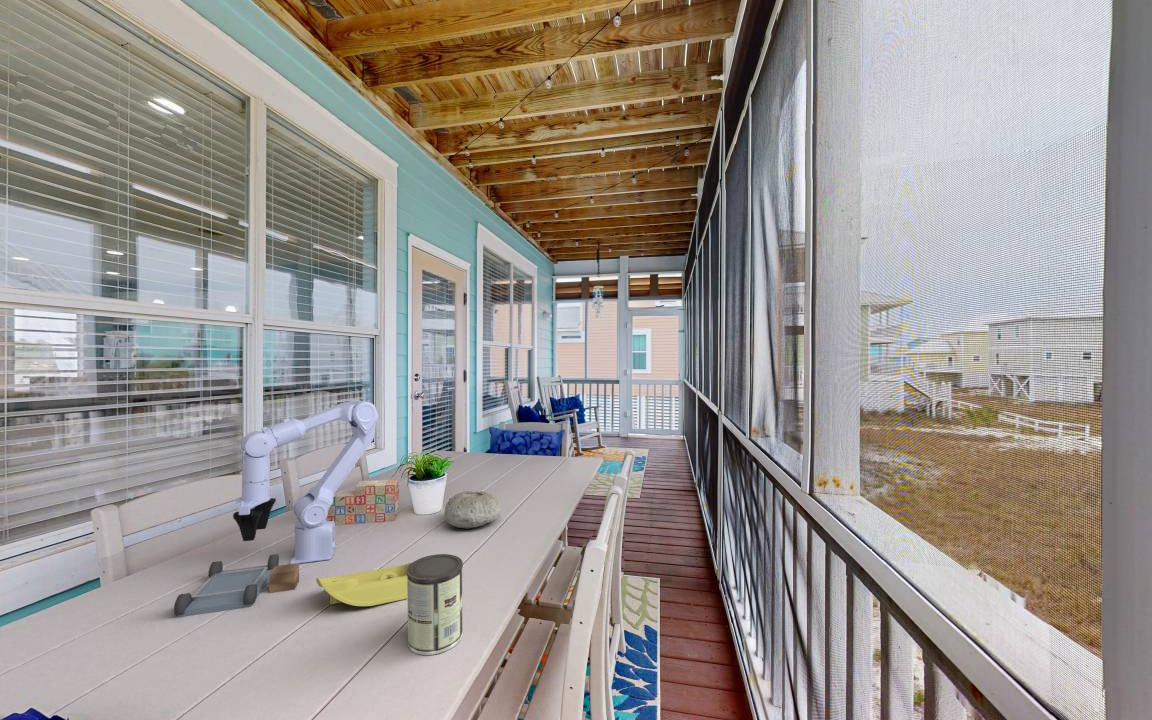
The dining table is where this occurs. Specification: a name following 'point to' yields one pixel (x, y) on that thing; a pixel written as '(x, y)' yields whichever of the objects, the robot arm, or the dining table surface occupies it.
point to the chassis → (226, 589)
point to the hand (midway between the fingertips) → (254, 534)
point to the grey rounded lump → (472, 509)
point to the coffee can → (434, 604)
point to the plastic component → (367, 586)
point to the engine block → (284, 578)
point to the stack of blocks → (366, 503)
